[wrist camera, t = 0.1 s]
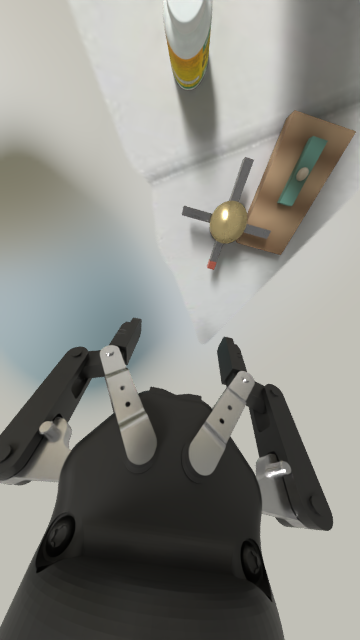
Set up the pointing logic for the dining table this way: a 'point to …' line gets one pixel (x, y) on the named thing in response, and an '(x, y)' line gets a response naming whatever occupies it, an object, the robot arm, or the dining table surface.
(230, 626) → the robot arm
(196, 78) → the supplement bottle
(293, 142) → the stand
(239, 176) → the capstan
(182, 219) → the dining table surface
